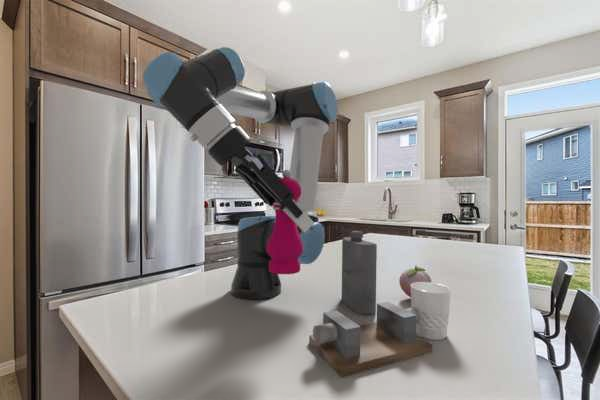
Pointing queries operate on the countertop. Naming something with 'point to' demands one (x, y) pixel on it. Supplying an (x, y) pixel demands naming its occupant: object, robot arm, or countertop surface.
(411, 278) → the decorative fruit
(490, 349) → the countertop surface
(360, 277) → the flask
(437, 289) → the white cup
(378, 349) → the block
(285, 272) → the pepper mill
